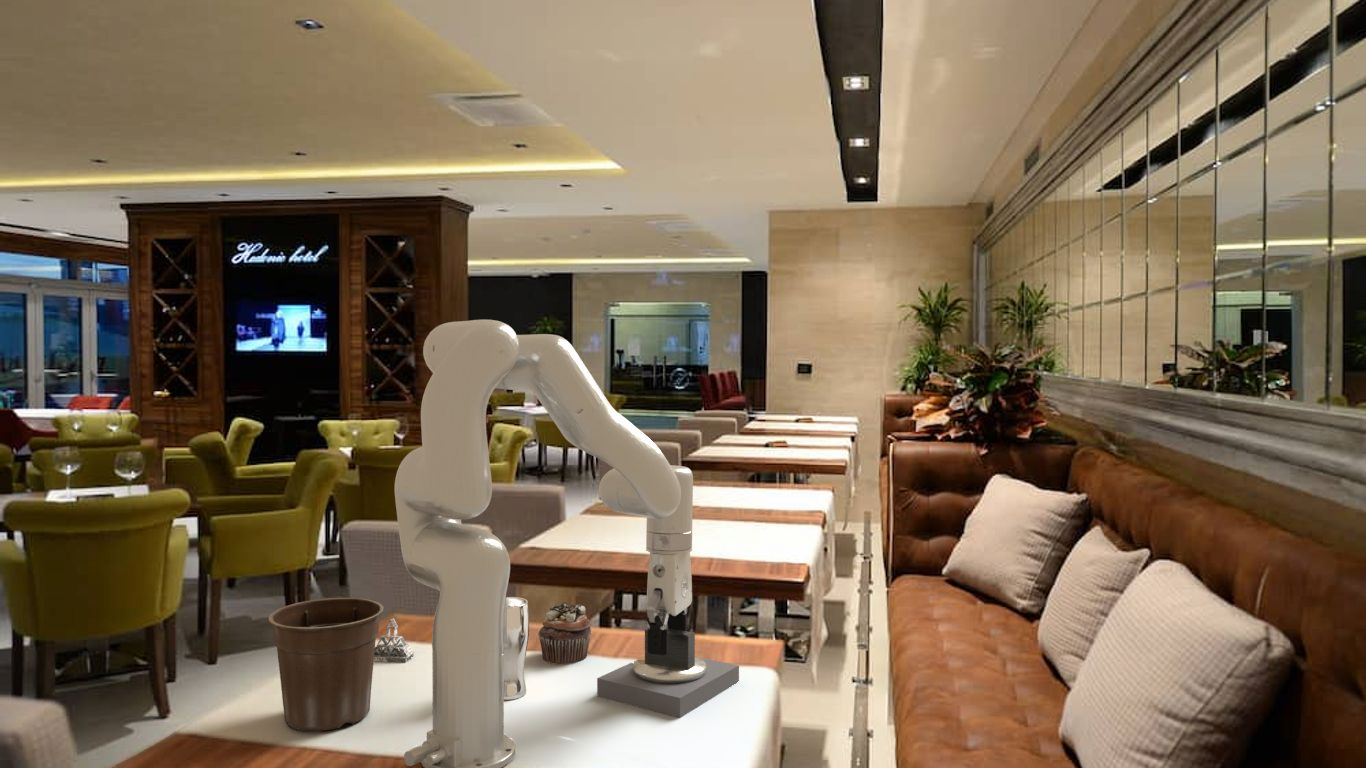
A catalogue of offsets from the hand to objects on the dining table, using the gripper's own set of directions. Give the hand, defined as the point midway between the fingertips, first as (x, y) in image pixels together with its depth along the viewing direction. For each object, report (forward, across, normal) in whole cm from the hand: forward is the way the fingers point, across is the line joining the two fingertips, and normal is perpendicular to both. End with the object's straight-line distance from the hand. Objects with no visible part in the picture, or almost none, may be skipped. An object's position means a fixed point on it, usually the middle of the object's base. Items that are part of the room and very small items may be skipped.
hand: (667, 645), depth 151 cm
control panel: (+7, +1, 0) cm, 7 cm away
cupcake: (+8, +10, +23) cm, 26 cm away
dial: (+4, 0, 0) cm, 4 cm away
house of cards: (+8, +2, +52) cm, 53 cm away
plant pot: (+9, -27, +45) cm, 53 cm away
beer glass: (+8, -10, +24) cm, 27 cm away
